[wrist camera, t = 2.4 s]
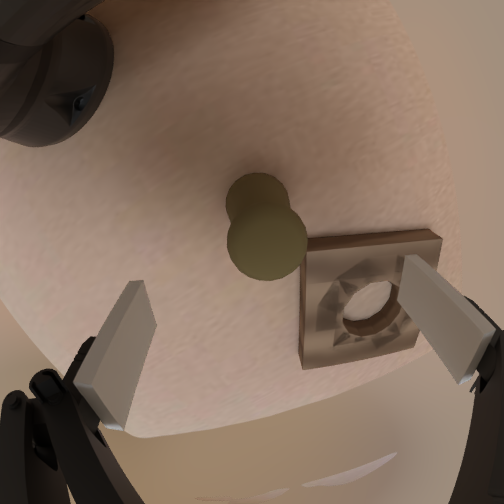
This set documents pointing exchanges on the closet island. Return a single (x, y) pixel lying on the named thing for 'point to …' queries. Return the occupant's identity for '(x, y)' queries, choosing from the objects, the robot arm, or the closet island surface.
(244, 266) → the olive green knobbed peg
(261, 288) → the closet island surface
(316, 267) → the socket block
